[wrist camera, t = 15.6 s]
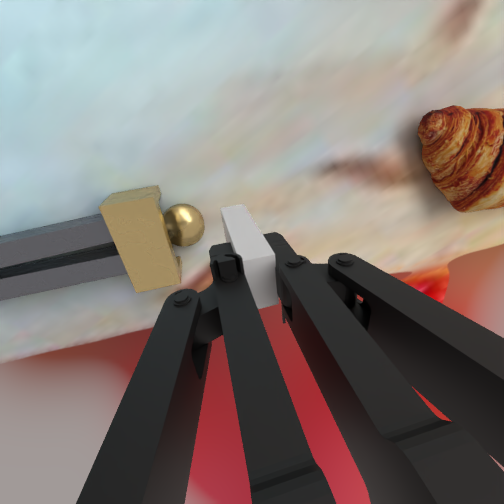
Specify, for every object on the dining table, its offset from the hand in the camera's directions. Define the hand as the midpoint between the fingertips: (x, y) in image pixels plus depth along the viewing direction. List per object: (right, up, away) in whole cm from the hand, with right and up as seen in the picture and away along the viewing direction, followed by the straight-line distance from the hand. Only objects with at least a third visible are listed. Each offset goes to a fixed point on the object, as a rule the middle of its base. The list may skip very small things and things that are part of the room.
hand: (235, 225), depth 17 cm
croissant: (+26, +9, +13) cm, 30 cm away
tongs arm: (-17, 0, +6) cm, 18 cm away
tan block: (-9, 0, +8) cm, 12 cm away
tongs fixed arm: (-15, -1, +8) cm, 17 cm away
